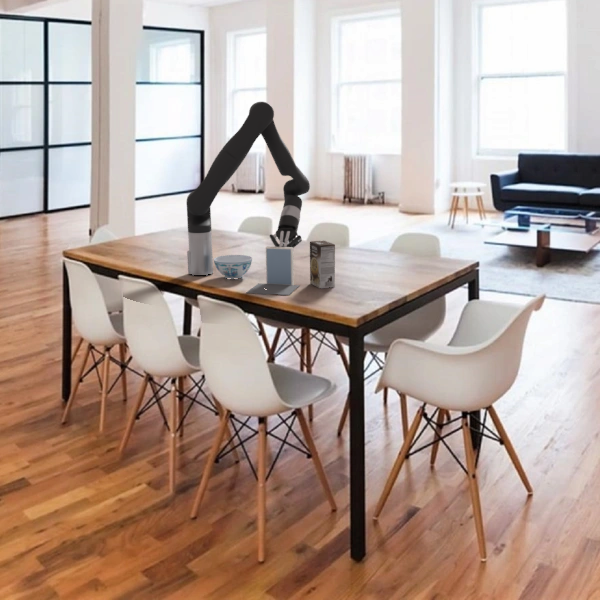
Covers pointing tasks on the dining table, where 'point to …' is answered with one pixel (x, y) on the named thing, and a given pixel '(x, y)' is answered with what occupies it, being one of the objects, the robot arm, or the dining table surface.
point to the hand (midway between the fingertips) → (281, 256)
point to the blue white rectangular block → (280, 265)
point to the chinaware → (233, 265)
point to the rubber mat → (273, 289)
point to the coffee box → (322, 264)
